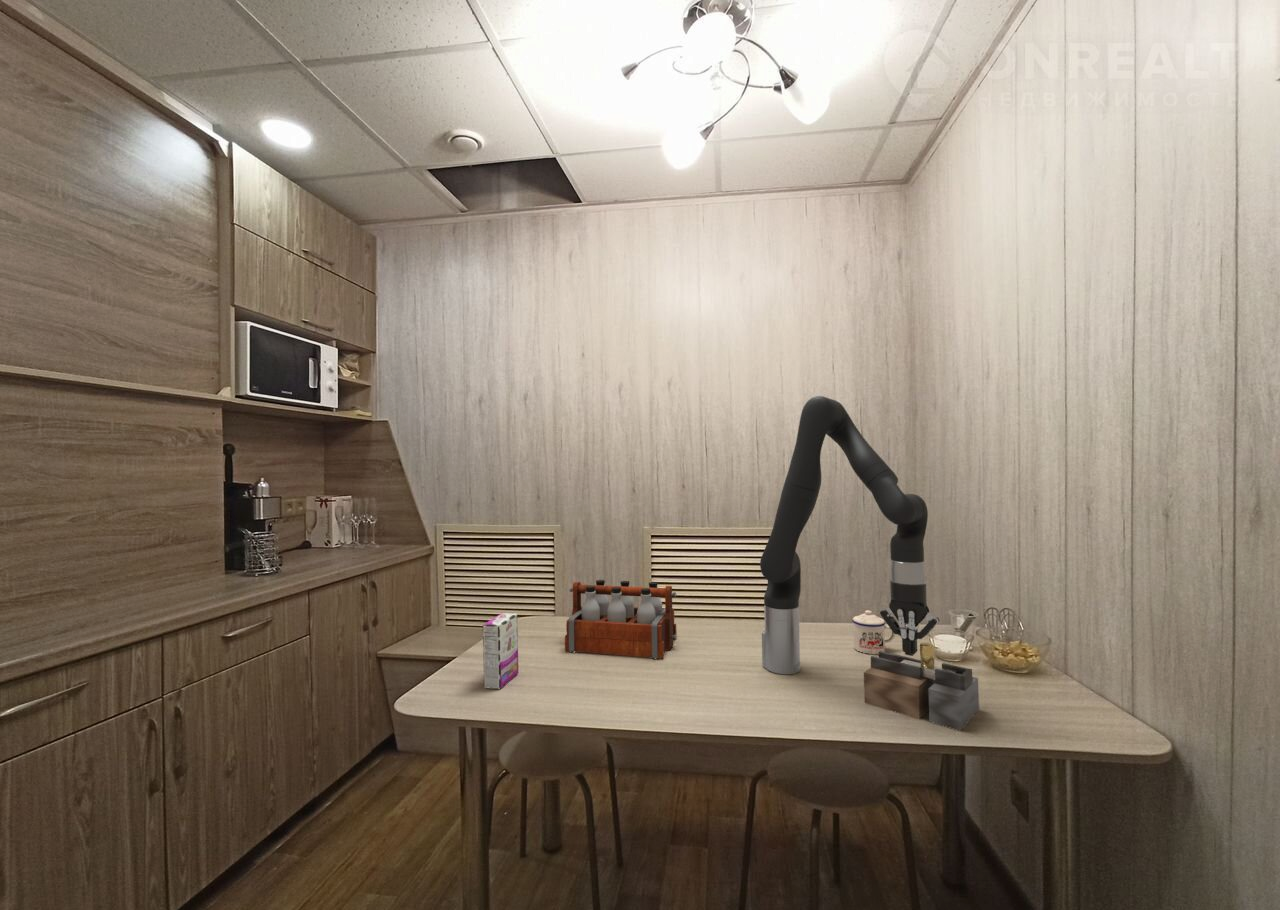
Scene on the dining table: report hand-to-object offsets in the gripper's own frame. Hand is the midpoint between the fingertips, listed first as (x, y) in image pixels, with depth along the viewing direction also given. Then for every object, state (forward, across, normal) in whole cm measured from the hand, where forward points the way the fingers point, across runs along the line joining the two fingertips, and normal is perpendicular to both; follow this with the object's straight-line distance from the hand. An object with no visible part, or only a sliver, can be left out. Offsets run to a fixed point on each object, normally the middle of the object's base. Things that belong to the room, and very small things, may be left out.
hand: (910, 654), depth 126 cm
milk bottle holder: (+11, -80, -17) cm, 83 cm away
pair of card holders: (+11, +3, 0) cm, 12 cm away
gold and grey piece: (+4, +3, 0) cm, 5 cm away
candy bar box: (+11, -82, -59) cm, 102 cm away
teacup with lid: (+11, -21, +31) cm, 39 cm away
